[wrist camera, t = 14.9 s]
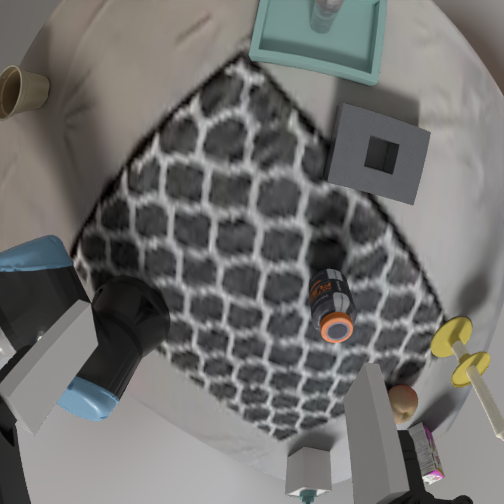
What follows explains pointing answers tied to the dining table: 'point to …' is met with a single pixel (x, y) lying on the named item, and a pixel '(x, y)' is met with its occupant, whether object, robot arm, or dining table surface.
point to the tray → (322, 38)
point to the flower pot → (21, 91)
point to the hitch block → (355, 149)
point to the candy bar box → (426, 453)
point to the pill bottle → (332, 305)
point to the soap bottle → (308, 474)
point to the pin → (324, 15)
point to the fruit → (402, 402)
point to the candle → (467, 365)
